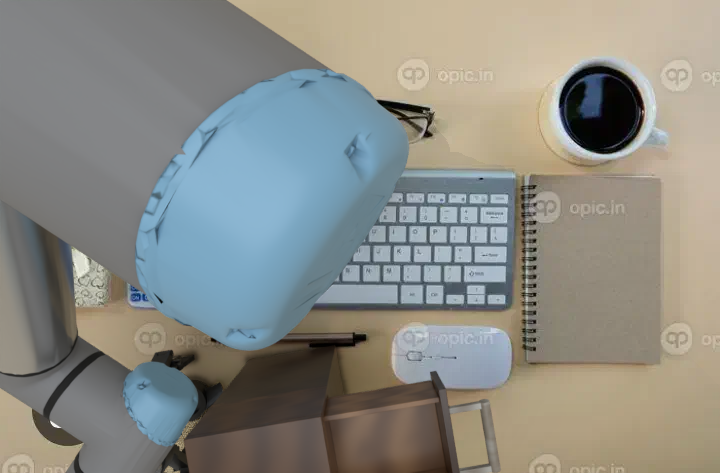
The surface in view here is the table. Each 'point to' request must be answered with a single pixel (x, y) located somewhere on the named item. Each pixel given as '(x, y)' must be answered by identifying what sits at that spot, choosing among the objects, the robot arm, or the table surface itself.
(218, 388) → the dark grey rounded piece
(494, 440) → the drawer
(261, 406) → the slanted brown box
